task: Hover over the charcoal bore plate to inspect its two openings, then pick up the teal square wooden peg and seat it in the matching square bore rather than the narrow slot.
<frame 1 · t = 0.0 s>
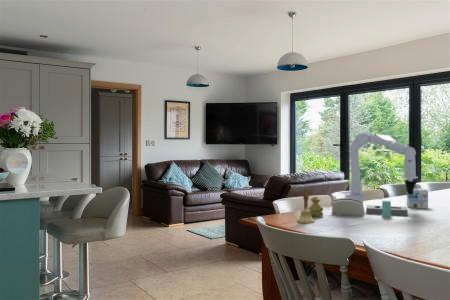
hand: (409, 193, 209), 10 cm above the table, fingers open, 7 cm apart
bore plate: (386, 213, 205), on the table
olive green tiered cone: (315, 216, 197), on the table
hand bell: (305, 222, 183), on the table
square peg: (386, 216, 195), on the table
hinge: (347, 215, 202), on the table
light bulb box: (417, 207, 225), on the table
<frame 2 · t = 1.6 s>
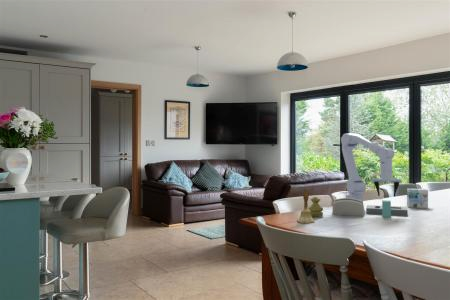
hand: (386, 196, 202), 10 cm above the table, fingers open, 7 cm apart
nothing on the table moved.
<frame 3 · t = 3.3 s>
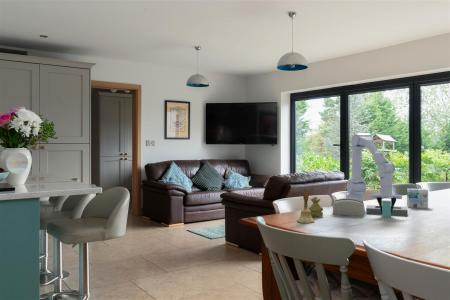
hand: (386, 212, 195), 2 cm above the table, fingers closed on square peg, 4 cm apart
square peg: (386, 216, 195), on the table, touching gripper
everything else where it was.
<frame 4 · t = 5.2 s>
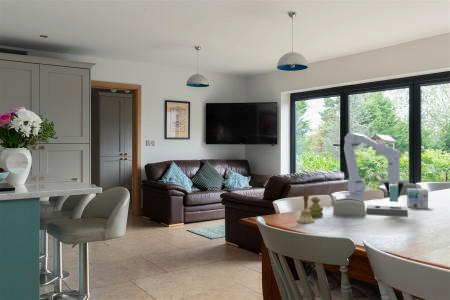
hand: (393, 197, 202), 9 cm above the table, fingers closed on square peg, 4 cm apart
square peg: (393, 201, 202), point 7 cm above the table, touching gripper
everything else where it was.
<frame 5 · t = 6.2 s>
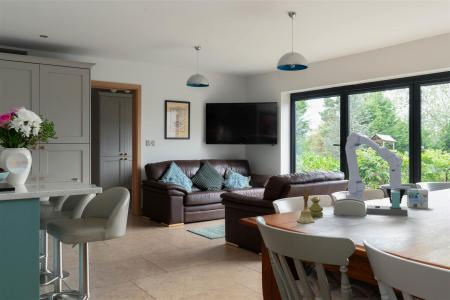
hand: (395, 203, 203), 5 cm above the table, fingers closed on square peg, 4 cm apart
square peg: (395, 207, 203), point 3 cm above the table, touching gripper
when the fingers open (4 cm above the table, at t = 6.9 s): square peg drops 2 cm, resting in bore plate.
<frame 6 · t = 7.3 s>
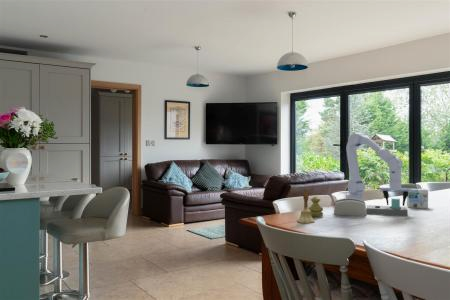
hand: (395, 205, 203), 4 cm above the table, fingers open, 7 cm apart
square peg: (395, 213, 203), resting in bore plate
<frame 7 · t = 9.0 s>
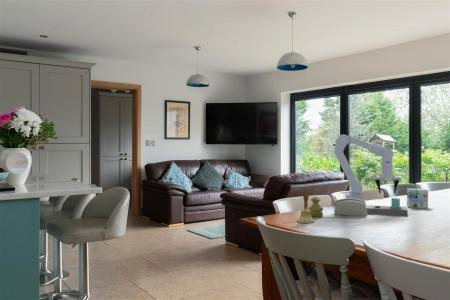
hand: (387, 193, 216), 9 cm above the table, fingers open, 7 cm apart
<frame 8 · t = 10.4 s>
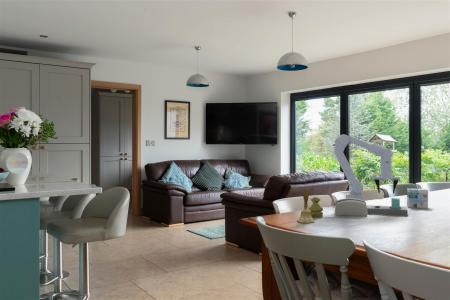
hand: (386, 193, 217), 9 cm above the table, fingers open, 7 cm apart
at the end: square peg 0.2 cm from the target spot on the bore plate, point 0.0 cm above the bore plate's base; square peg tilted 0°; the gripper is holding nothing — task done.
